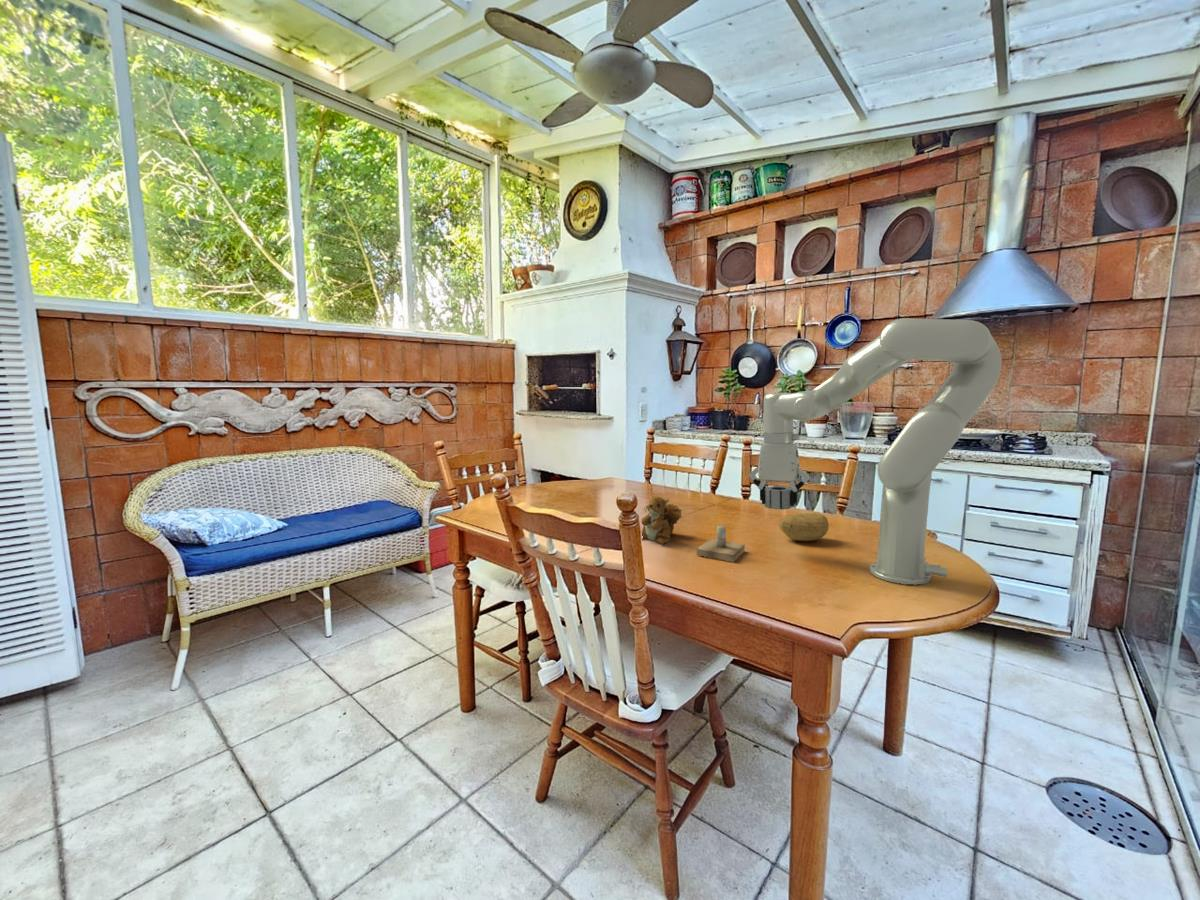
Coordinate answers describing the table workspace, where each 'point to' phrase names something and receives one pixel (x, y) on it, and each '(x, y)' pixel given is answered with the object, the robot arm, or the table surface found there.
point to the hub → (777, 497)
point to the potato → (804, 526)
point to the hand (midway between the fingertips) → (778, 503)
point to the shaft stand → (721, 547)
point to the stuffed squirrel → (660, 519)
